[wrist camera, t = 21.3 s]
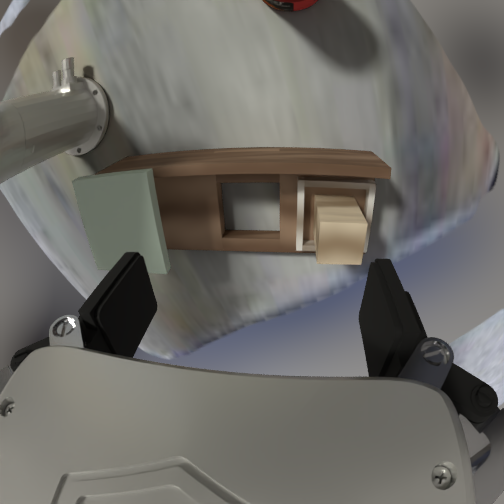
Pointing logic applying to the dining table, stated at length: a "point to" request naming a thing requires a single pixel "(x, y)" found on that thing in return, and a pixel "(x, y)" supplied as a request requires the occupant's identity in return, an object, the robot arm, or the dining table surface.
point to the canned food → (290, 4)
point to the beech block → (338, 230)
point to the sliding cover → (122, 218)
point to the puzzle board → (254, 170)
